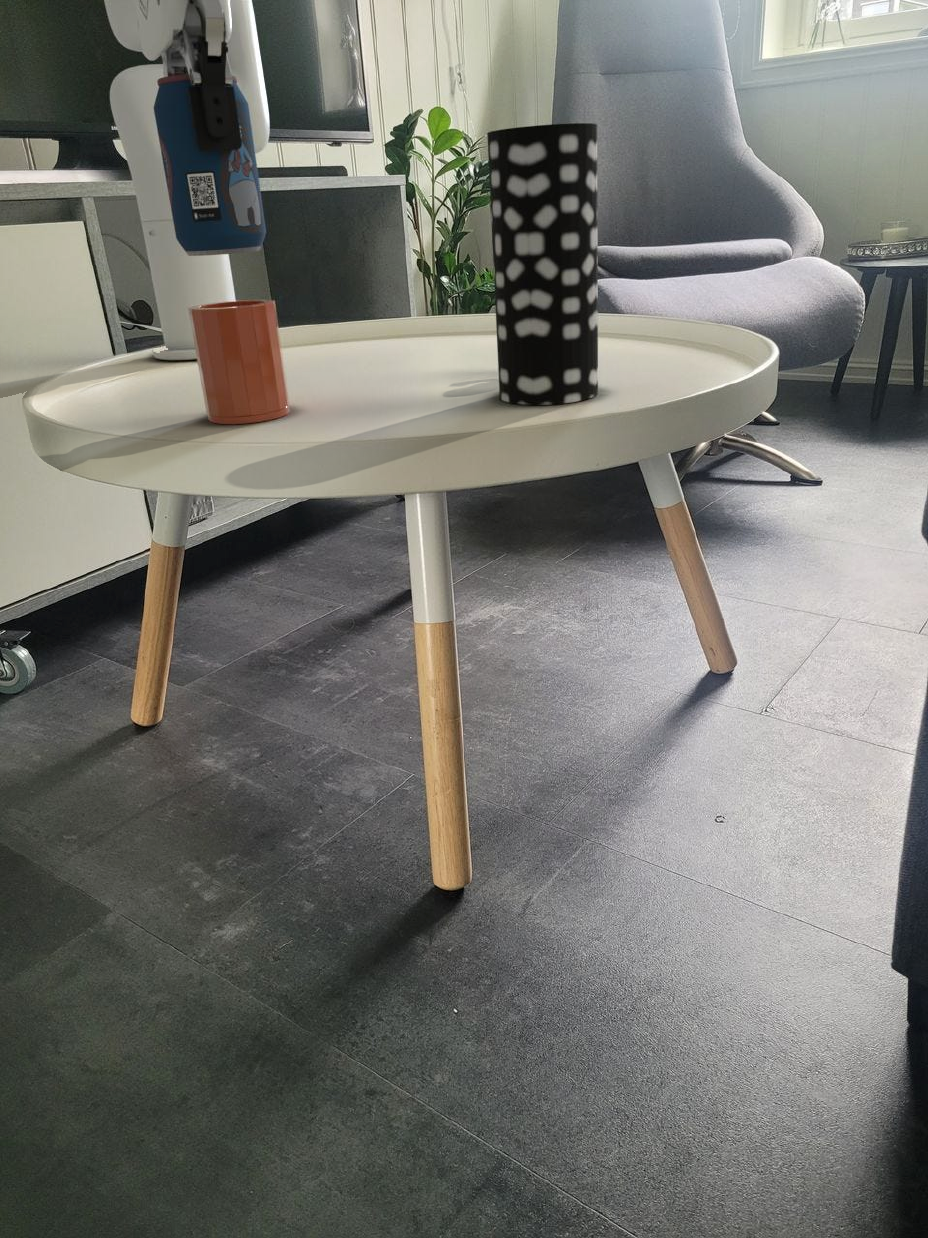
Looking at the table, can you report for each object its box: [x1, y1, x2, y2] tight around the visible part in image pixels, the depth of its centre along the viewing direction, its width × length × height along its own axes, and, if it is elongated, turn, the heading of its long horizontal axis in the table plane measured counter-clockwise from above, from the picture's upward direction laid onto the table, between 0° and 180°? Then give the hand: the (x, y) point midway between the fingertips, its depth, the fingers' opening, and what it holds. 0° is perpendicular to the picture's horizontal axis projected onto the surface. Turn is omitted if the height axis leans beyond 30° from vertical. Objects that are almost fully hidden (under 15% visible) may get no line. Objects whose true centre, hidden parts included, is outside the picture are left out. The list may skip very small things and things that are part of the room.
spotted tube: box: [487, 122, 599, 406], centre depth 74 cm, size 8×8×20 cm
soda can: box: [154, 74, 267, 256], centre depth 70 cm, size 7×7×12 cm
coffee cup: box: [188, 299, 290, 425], centre depth 76 cm, size 7×7×9 cm
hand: (207, 151), depth 70 cm, fingers closed on soda can, 7 cm apart
